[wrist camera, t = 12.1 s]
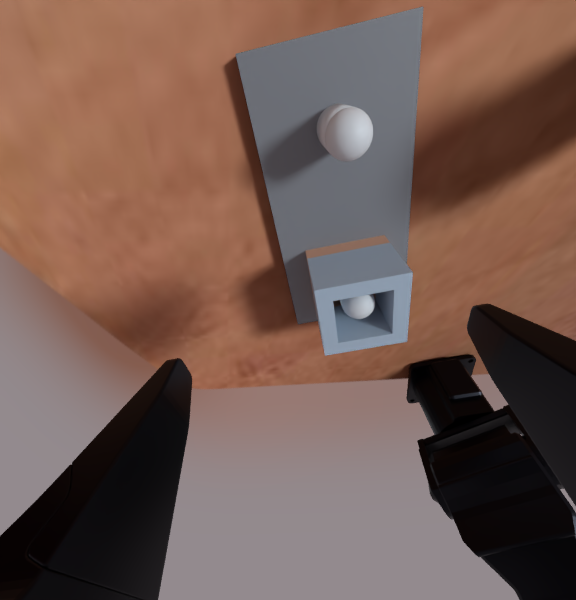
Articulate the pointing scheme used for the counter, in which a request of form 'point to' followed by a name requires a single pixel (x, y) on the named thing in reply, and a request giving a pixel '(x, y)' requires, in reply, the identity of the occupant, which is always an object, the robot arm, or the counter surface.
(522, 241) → the counter surface
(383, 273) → the sleeve
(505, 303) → the counter surface
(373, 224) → the pin board
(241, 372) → the counter surface
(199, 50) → the counter surface
